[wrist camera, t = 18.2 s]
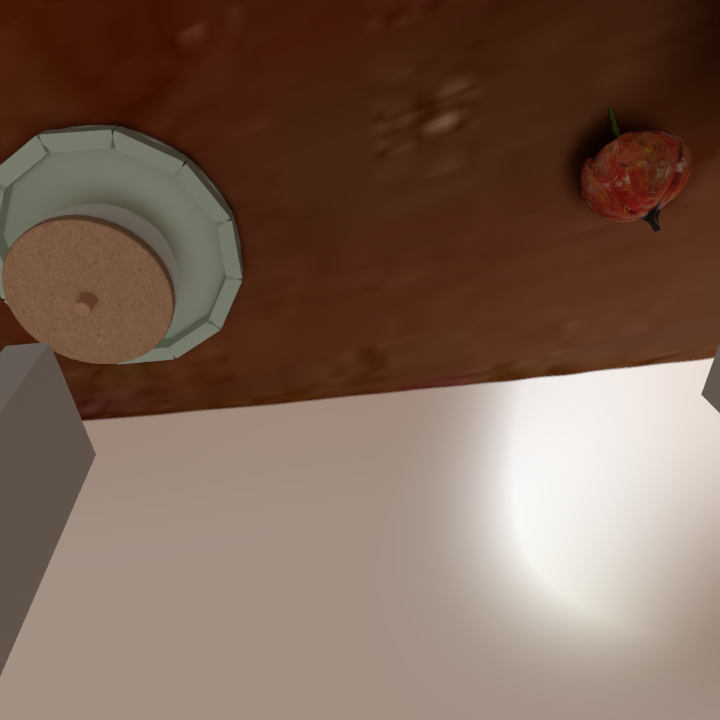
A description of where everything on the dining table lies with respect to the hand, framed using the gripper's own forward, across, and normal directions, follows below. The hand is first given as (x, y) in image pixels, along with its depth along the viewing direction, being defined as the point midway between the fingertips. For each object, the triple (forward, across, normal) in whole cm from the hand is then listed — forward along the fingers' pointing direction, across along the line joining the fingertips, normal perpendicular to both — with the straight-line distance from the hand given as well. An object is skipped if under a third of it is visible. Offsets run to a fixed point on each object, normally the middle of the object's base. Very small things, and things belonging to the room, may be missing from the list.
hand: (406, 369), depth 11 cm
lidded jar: (+34, -17, -10) cm, 39 cm away
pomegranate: (+35, +22, -6) cm, 42 cm away
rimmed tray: (+35, -17, -10) cm, 40 cm away
